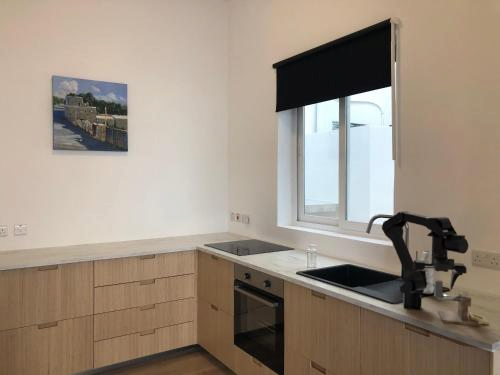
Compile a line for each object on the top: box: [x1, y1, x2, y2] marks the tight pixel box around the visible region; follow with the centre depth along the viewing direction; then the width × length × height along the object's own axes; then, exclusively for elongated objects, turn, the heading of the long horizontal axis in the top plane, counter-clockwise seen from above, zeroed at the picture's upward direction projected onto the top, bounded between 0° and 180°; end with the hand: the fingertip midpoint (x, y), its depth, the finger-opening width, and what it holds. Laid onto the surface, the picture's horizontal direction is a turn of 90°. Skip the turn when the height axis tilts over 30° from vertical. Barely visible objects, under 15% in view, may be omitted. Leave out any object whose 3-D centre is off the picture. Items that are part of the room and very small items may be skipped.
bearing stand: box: [437, 290, 481, 327], centre depth 160 cm, size 13×12×10 cm
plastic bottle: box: [419, 250, 435, 295], centre depth 194 cm, size 6×7×20 cm
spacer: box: [468, 311, 489, 325], centre depth 159 cm, size 1×6×6 cm
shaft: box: [433, 278, 461, 302], centre depth 161 cm, size 10×3×8 cm, turn 72°
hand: (438, 288), depth 162 cm, fingers open, 9 cm apart
